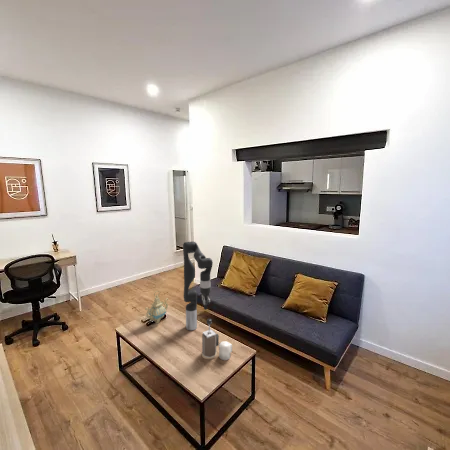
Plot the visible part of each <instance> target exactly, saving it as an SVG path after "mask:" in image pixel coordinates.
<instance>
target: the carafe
mask: <svg viewBox="0 0 450 450" xmlns="http://www.w3.org/2000/svg"><path fill="white" fill-rule="evenodd" d="M219 335H220V334H219V333H217V332H215V330H213V329H211V328H210V334H209V329H207V330H205V331H202V335H201V341H202V342H201V345H202V346H201V347H202V348H201V356H202V357H201V358H204V359H206V360H213V359H214V358H216V357H218V351H217V347H219V344H220V341H219V340H220V338H219Z"/></svg>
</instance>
